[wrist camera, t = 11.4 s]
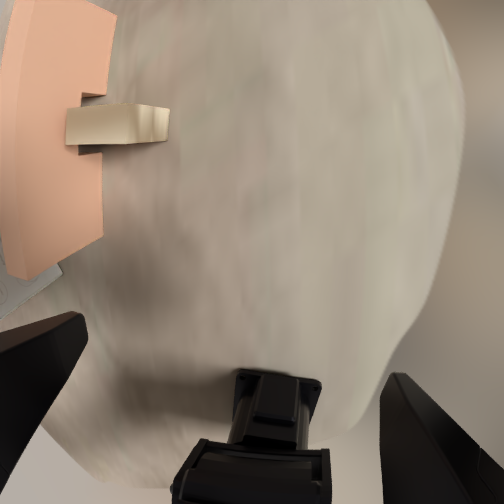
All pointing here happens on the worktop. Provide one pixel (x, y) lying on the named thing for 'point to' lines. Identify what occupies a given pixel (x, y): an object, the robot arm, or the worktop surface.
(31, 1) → the terracotta plate
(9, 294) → the small box
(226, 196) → the worktop surface
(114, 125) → the birch notched block
